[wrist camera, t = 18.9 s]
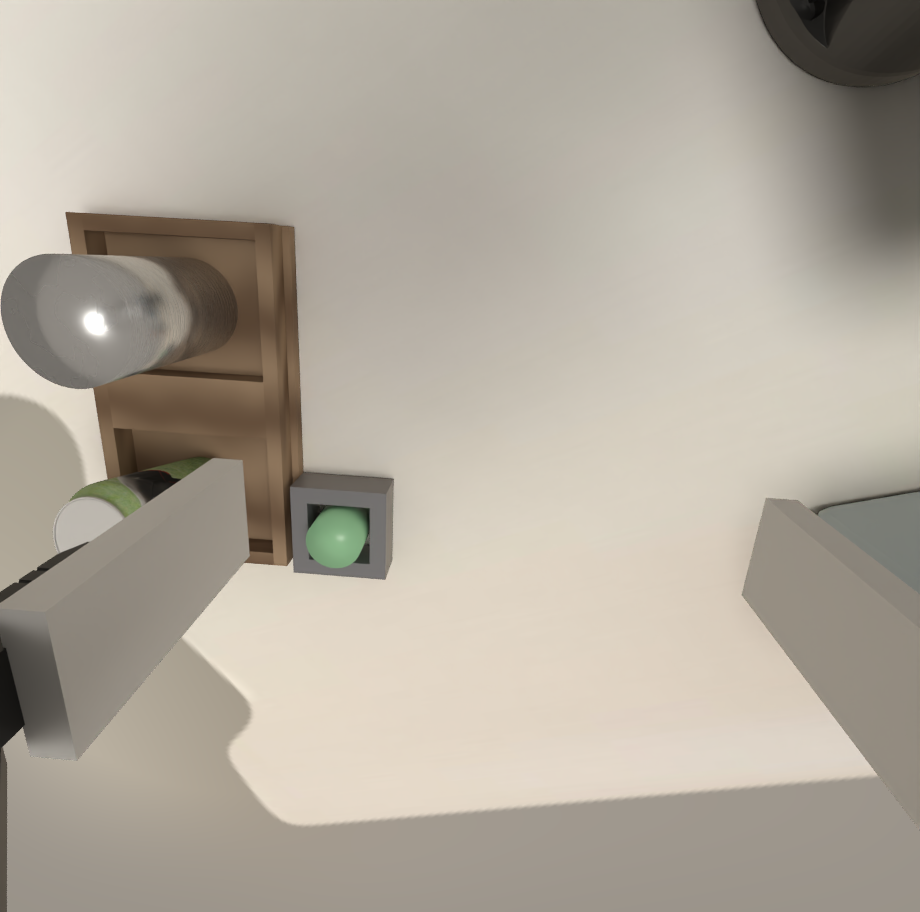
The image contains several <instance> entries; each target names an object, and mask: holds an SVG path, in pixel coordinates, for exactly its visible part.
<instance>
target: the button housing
mask: <svg viewBox="0 0 920 912" xmlns="http://www.w3.org/2000/svg"><path fill="white" fill-rule="evenodd" d="M393 486H394V479H388V478H374V477H360V476H347V475H333V474H319V473H306V472H303V473H302V474H301V475H300V476H299V478H298V479H297V480H296V481H295V482H294V483H293V484H292V485H291V486H290V501H291V522H292V544H293V566H294V572H296V573H308V574H321V575H334V576H346V577H359V578H371V579H384V580H385V579H386V576H387V573H388V570H389V567H390V565H391V562H392V540H393ZM320 504H322V505H335V506H348V507H362V508H370V545H365V544H364V546H363V548H362V550H361V552H360V554H359V556H358V558H357V559H356V560H355V561H354V562H353V563H352V564H351V565H349V566H346V567H343V568H329V567H326V566H323V565H321V564H320V563H318V562H317V561H316V560H314V559H313V558H312V556H311V555H310V553H309V552H308V549H307V546H306V535H307V532H308V530H309V528H310V527H311V525H312V524H313V523H314V521H315V520H316V518H317V517H318V516H319V514H320Z"/></svg>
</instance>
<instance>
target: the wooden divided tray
mask: <svg viewBox="0 0 920 912" xmlns="http://www.w3.org/2000/svg"><path fill="white" fill-rule="evenodd" d="M66 219H67V225H68V231H69V238H70V244H71V250H72V254H79V255H115V256H151V257H187V258H194V259H198V260H201V261H203V262H206V263H208V264H209V265H211V266H212V267H214V268H215V269H217V270H218V271H219V272H220V273H221V274H222V275H223V276H224V277H225V279H226V280H227V281H228V283H229V284H230V286H231V288H232V290H233V292H234V295H235V298H236V301H237V307H238V319H237V324H236V328H235V330H234V333H233V335H232V336H231V338H230V339H229V340H228V342H227V343H225V344H224V345H223V346H222V347H220V348H219V349H217V350H215V351H212V352H209V353H206V354H202V355H199V356H196V357H192V358H189V359H186V360H183V361H179V362H176V363H173V364H169V365H166V366H163V367H160V368H156V369H153V370H150V371H146V372H143V373H140V374H137V375H133V376H130V377H127V378H123V379H120V380H117V381H114V382H110V383H107V384H104V385H100V386H97V387H94V388H93V389H94V395H95V402H96V408H97V414H98V421H99V427H100V433H101V439H102V446H103V452H104V458H105V465H106V471H107V477H108V479H112V478H116V477H120V476H123V475H127V474H131V473H135V472H139V471H143V470H146V469H150V468H154V467H158V466H162V465H166V464H169V463H173V462H177V461H181V460H185V459H189V458H193V457H206V458H210V459H212V458H220V459H234V460H243V473H244V486H245V500H246V513H247V527H248V540H249V554H250V556H249V557H248V559H247V560H246V561H245V562H244V563H255V564H268V565H281V566H287V565H288V564H289V562H290V561H291V560H292V558H293V544H292V522H291V501H290V486H291V485H292V484H293V483H294V482H295V481H296V480H297V479H298V478H299V476H300V475H301V474H302V473H303V451H302V424H301V397H300V370H299V343H298V316H297V289H296V262H295V235H294V227H290V226H279V225H274V224H267V223H249V222H232V221H214V220H196V219H179V218H161V217H144V216H126V215H109V214H91V213H73V212H66Z"/></svg>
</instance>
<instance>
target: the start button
mask: <svg viewBox="0 0 920 912" xmlns="http://www.w3.org/2000/svg"><path fill="white" fill-rule="evenodd" d="M369 533H370V508H362V507H348V506H335V505H326V506H325V507H324V508H323V510H322V511H321V513H320V514H319V516H318V517H317V518H316V520H315V521H314V523H313V524H312V525H311V527H310V528H309V530H308V532H307V535H306V546H307V549H308V552H309V553H310V555H311V556H312V558H313V559H314V560H316V561H317V562H318V563H320V564H321V565H323V566H326V567H329V568H343V567H346V566H349V565H351V564H352V563H353V562H354V561H355V560H356V559H357V558H358V556H359V554H360V552H361V550H362V548H363V546H364V544H365V542H366V539H367V537H368V535H369Z"/></svg>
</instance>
